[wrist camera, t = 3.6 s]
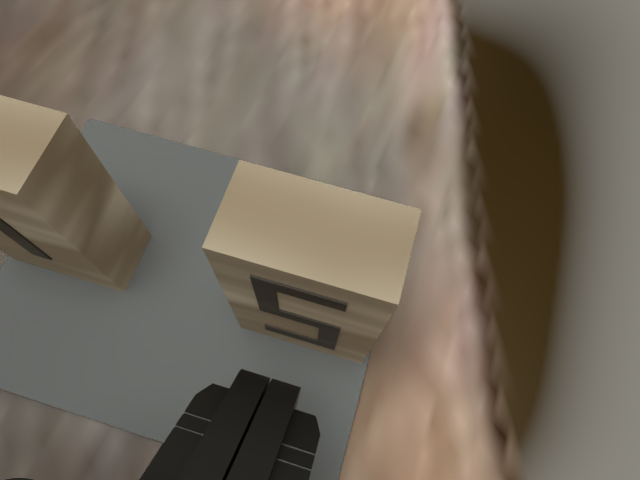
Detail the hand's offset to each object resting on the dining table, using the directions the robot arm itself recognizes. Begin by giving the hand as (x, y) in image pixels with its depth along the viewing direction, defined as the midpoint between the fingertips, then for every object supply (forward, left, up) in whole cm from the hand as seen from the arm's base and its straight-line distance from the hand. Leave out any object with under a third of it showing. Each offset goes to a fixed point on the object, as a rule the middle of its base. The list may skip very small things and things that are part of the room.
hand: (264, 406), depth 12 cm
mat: (-6, 0, -6) cm, 8 cm away
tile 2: (-2, +3, -5) cm, 6 cm away
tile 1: (-9, -3, -5) cm, 11 cm away
